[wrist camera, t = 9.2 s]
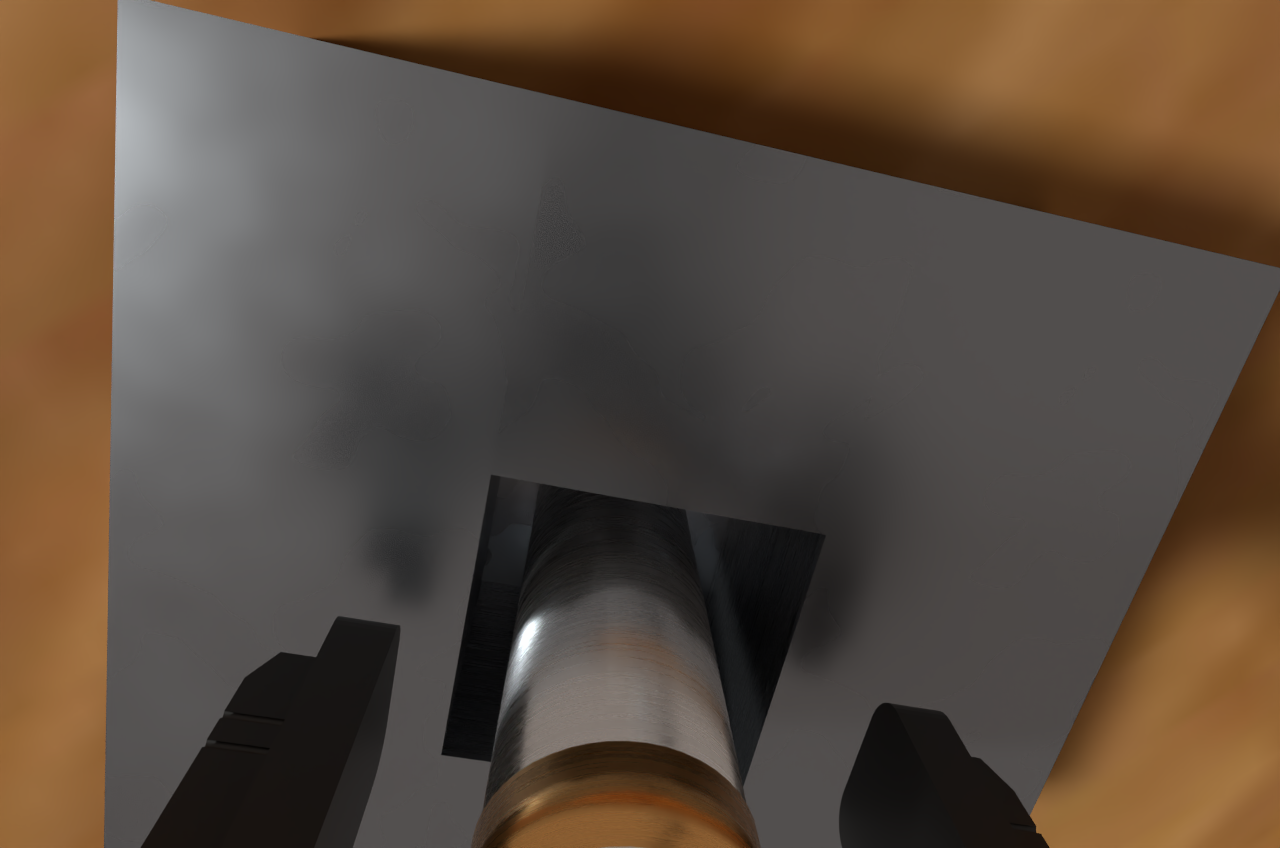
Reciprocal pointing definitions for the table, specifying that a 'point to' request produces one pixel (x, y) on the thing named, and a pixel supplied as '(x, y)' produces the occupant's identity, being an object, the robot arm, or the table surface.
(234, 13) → the table surface
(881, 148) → the table surface
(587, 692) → the cylinder
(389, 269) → the bore block
